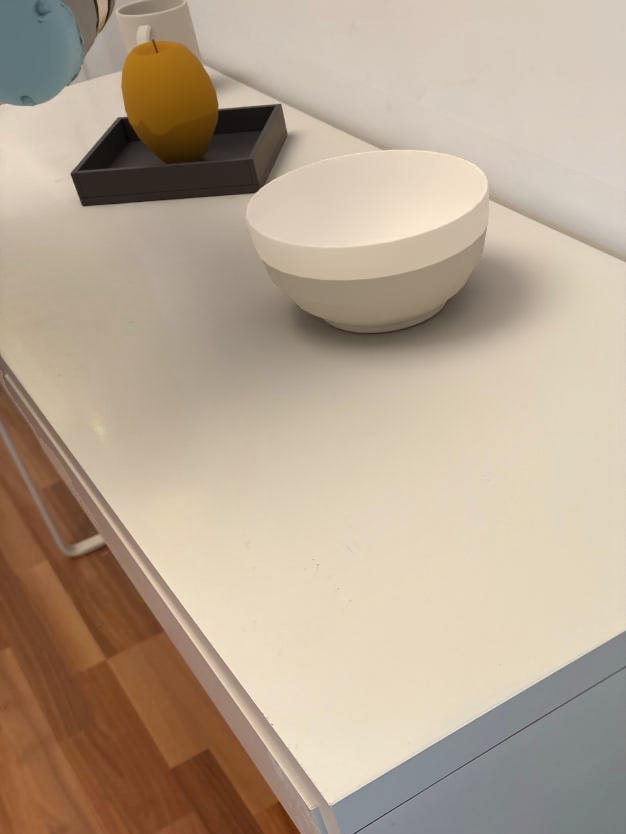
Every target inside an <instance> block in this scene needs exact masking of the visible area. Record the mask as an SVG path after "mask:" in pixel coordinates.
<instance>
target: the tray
mask: <svg viewBox="0 0 626 834" xmlns="http://www.w3.org/2000/svg"><path fill="white" fill-rule="evenodd" d="M287 129H288V128H287V123H286V119H285V114H284V109H283V105H282V103H272V104H261V105H248V106H236V107H235V106H234V107H226V108H225V107H223V108H218V121H217V124H216V127H215V130H214V133H213V136H212V139H211V142H210V145H209V147H208V150H207V153H206V154H205V155H204V156H203V157H202V158H201V159H200V160H199V161H197V162H184V163H172V164H166V163H164V162H163V161H162V160H161V159H159V158H158V157H157V156H156V155H155V154H154V153H153V152H152V151H151V150H150V149H149V148H148V147H147V146H146V145H145V144H144V143H143V142H142V141H141V140H140V138H139V137H138V135H137V134H136V132H135V130H134V129H133V127H132V126H131V124H130V122H129V120H128V117H127V116H118V117H117V118H116V119H115V120H113V123H112V124H111V125H110V126H109V127H108V128H107V130H106V131H105V132H104V133H103V134H102V136H101V137H100V138H99V139H98V140H97V141H96V142H95V144H94V145H93V146H92V147H91V148H90V149H89V151H88V152H87V153H86V154H85V156H84V157H82V159H81V160H80V161H79V162H78V164H77V165H76V166H75V167H74V168H73V169H72V171H70V174H69V175H70V177H71V179H72V182H73V185H74V188H75V192H76V193H77V196H78V199H79V202H80V204H81V206H82V207H85V206H97V205H98V206H99V205H111V204H123V203H136V202H137V203H138V202H148V201H149V202H151V201H163V200H175V199H177V200H178V199H189V198H197V197H198V198H201V197H214V196H228V195H240V194H252V193H253V194H255V193H257V192H258V191H259V190H260V189H261V188H262V187H264V186H265V185H266V181H267V179H268V178H269V175H270V173H271V171H272V168H273V167H274V164H275V162H276V160H277V158H278V156H279V154H280V151H281V149H282V147H283V145H284V143H285V141H286V138H287V137H288V130H287Z"/></svg>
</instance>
